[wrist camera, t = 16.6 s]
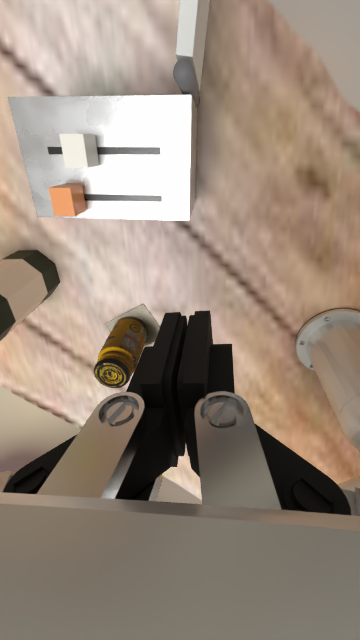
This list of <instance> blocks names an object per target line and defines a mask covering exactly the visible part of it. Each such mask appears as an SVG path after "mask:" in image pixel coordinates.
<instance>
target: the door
mask: <svg viewBox="0 0 360 640" xmlns="http://www.w3.org/2000/svg"><path fill="white" fill-rule="evenodd" d="M209 5H210V0H180V5H179V19H178V33H177V47H176V56H177V59H178V62H177V63H176V64H175V66H174V70H173V74H174V78H175V80H176V82H177V84H178V86H179V87H180V89H181V91H182V93H183V95H192V97H193V100H194V102H195V105H196V107H197V106H198V105H199V102H200V98H199V94H198V91H200V86H201V77H202V68H203V59H204V50H205V41H206V32H207V23H208V14H209Z"/></svg>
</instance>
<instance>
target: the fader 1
mask: <svg viewBox="0 0 360 640" xmlns="http://www.w3.org/2000/svg"><path fill="white" fill-rule="evenodd" d="M59 136H60V141H61V147H62V152H63V158H64V163H65V167H81V168H88V167H95V166H99V161H98V153H97V146H96V138H95V135H89V134H59Z"/></svg>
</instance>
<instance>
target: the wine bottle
mask: <svg viewBox="0 0 360 640" xmlns="http://www.w3.org/2000/svg"><path fill="white" fill-rule="evenodd" d="M59 283H60V280H59V276H58V273H57V269H56V266H55V264H54V263H53V262H52V261H51V260H49V259H48V258H47V257H45V256H44V255H43V254H42V253H40V252H39V251H38V250H24V251H17V252H15V253H13V254H11V255H9V256H7V257H5V258H4V259H2V260H0V341H1V340H2V339H3V338H4V337H5V336H6V335H7V334H8V333H9V332H10V331H12V330H13V329H14V328H15V327H16V326H17V325H18V324H19V323H20V322H21V321H23V320H24V319H25V318H26V317H27V316H28V315H29V314H30V313H31V312H32V311H33V310H35V309H36V308H37V307H38V306H39V305H40V304H41V303H42V302H43V301H44V300H46V299H47V298H48V297H49V296H50V295H51V294H52V293H53V291H54V290H55V289H56V287H57V286H58V284H59Z"/></svg>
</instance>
